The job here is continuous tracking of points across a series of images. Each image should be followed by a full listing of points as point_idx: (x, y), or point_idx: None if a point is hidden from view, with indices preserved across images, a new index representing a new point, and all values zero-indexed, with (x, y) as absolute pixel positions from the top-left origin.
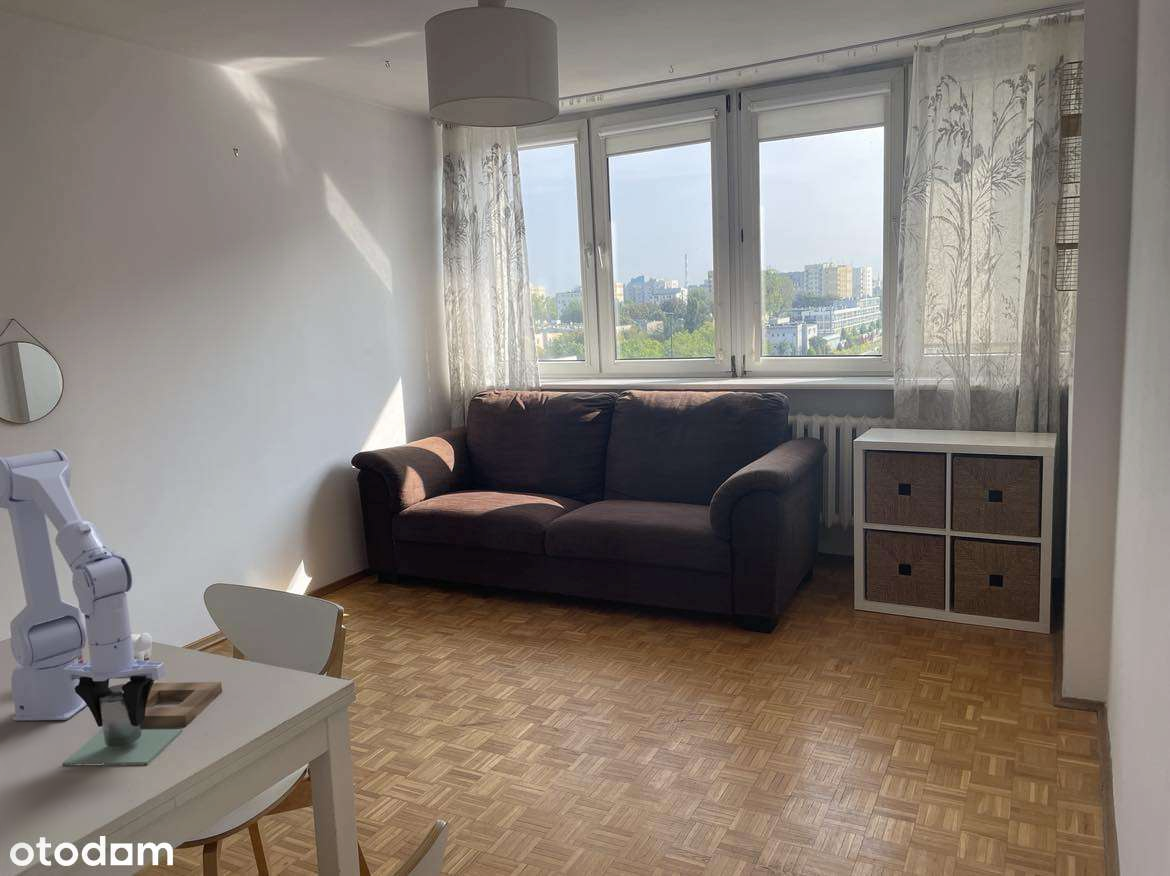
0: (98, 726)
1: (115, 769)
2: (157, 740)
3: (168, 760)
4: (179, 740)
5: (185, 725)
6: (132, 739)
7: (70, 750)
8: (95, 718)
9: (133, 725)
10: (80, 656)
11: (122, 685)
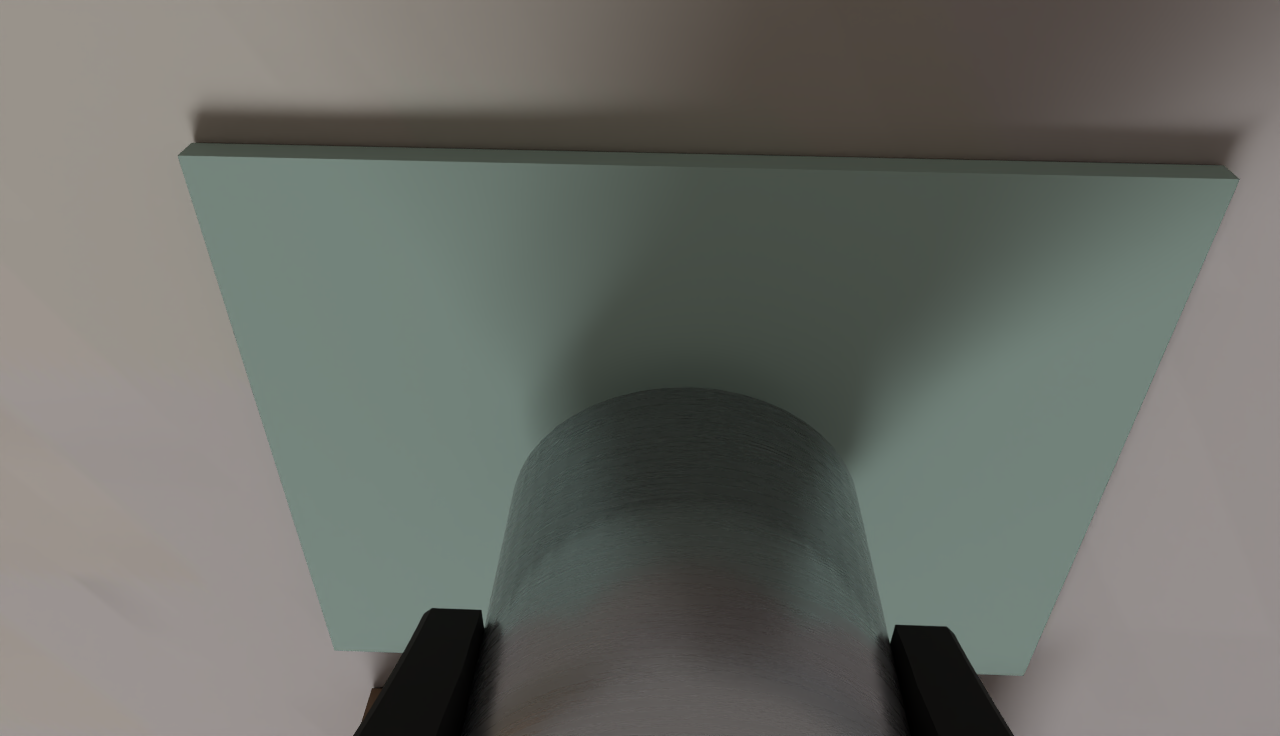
0: (943, 626)
1: (511, 55)
2: (413, 522)
3: (42, 222)
4: (256, 529)
5: (378, 692)
6: (522, 477)
7: (1221, 439)
8: (992, 726)
9: (468, 615)
10: None
11: None
